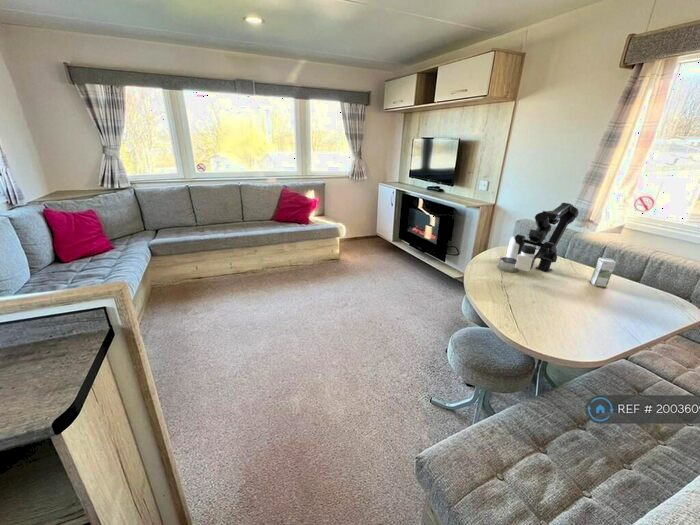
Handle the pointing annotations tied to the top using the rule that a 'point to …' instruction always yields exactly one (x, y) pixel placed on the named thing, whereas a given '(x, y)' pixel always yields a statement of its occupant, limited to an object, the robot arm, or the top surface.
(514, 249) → the cup
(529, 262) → the medicine bottle
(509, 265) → the grey bowl
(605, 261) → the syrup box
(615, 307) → the top surface
